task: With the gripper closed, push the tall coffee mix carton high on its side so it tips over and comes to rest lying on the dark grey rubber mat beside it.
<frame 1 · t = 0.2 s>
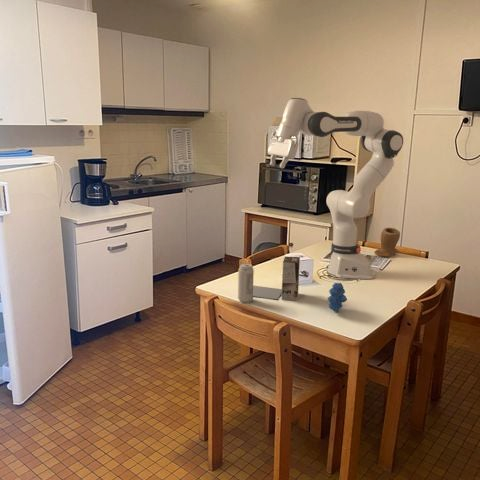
hand: (276, 166, 205), 52 cm above the table, tool tilted 20°, fingers open, 8 cm apart
grapes: (337, 312, 185), on the table
energy drink can: (245, 301, 196), on the table
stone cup: (387, 255, 263), on the table
coffee box: (290, 296, 201), on the table
mat: (262, 292, 204), on the table
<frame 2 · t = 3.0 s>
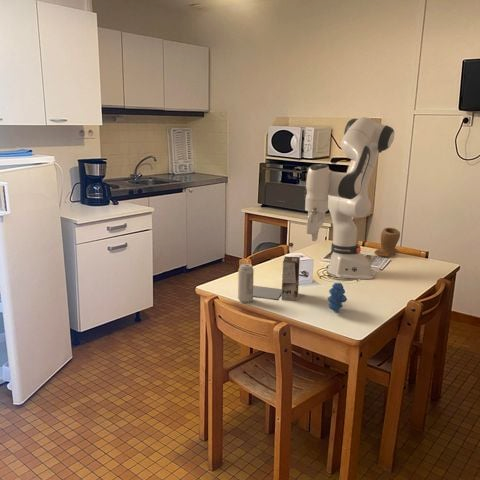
hand: (314, 240, 192), 25 cm above the table, tool pointing down, fingers closed
nothing on the table moved.
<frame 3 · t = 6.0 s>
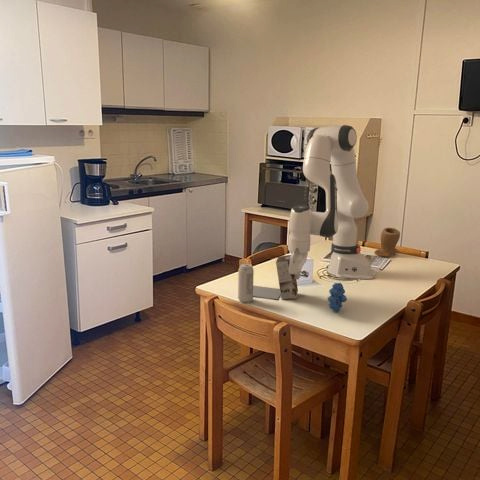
hand: (297, 278, 198), 8 cm above the table, tool pointing down, fingers closed
coffee box: (290, 295, 201), on the table, touching gripper
everything else where it was.
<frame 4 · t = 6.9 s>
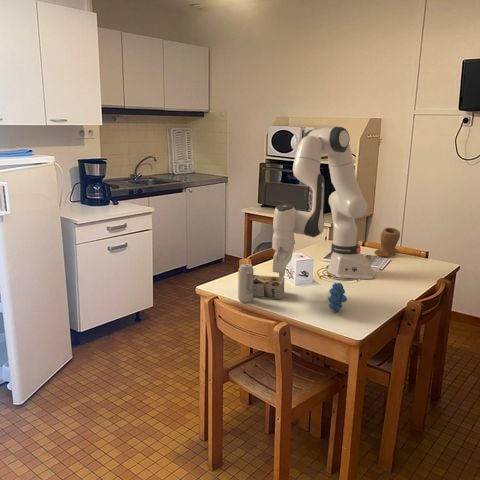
hand: (281, 276, 200), 8 cm above the table, tool pointing down, fingers closed
coffee box: (283, 287, 200), point 4 cm above the table, touching mat
everything else where it was.
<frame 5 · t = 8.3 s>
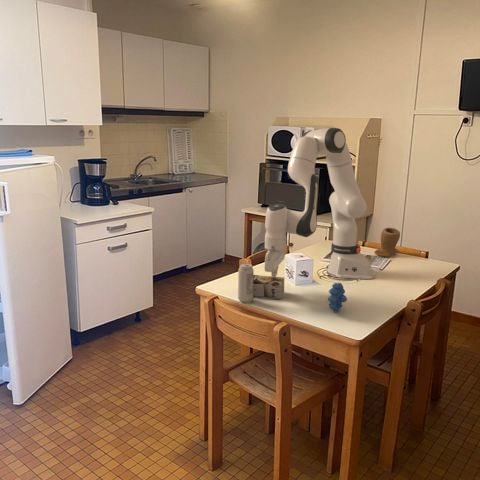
hand: (274, 275, 201), 8 cm above the table, tool pointing down, fingers closed
nothing on the table moved.
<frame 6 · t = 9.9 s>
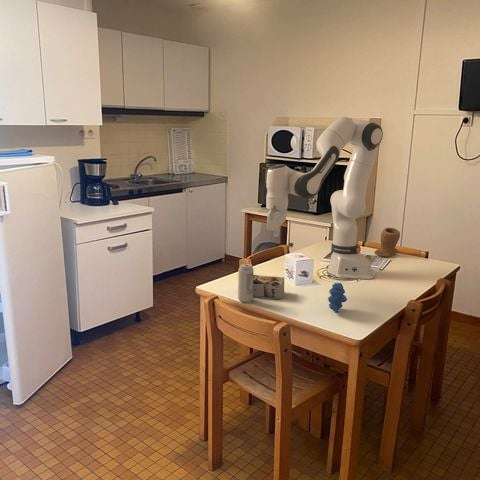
hand: (276, 236, 203), 24 cm above the table, tool pointing down, fingers closed
nothing on the table moved.
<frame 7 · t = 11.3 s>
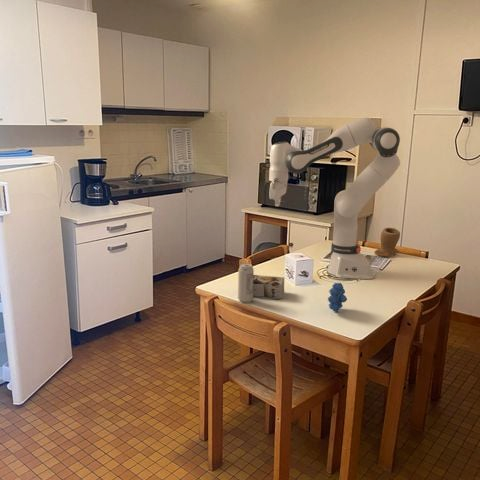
hand: (277, 205, 230), 31 cm above the table, tool pointing down, fingers closed
nothing on the table moved.
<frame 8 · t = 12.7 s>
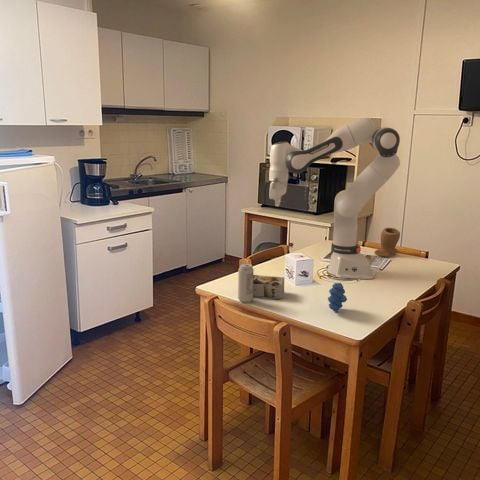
hand: (277, 205, 230), 31 cm above the table, tool pointing down, fingers closed
nothing on the table moved.
at the end: coffee box tilted 90°; coffee box touching mat; coffee box inside the target area (3.7 cm from its centre), point 3.6 cm above the table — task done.
